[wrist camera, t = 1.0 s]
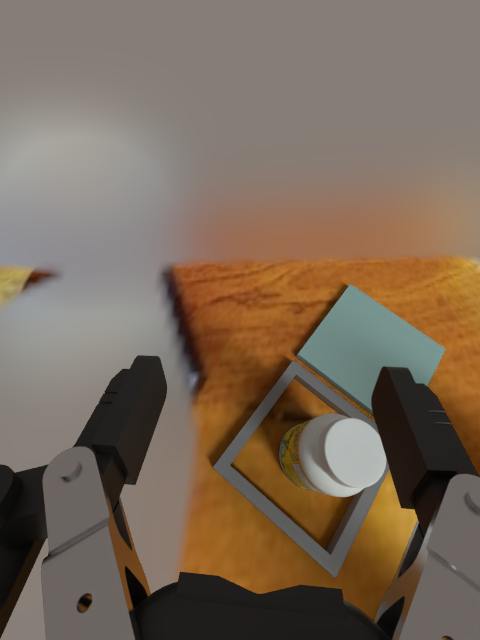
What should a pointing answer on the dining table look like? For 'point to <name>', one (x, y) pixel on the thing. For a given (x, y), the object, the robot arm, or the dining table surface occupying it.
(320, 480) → the supplement bottle
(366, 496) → the grey square frame
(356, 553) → the dining table surface
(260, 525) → the dining table surface
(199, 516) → the dining table surface
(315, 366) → the board
